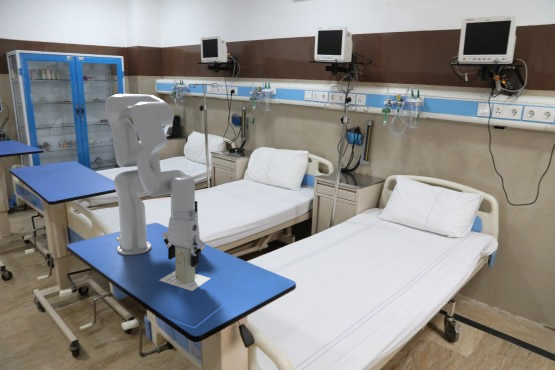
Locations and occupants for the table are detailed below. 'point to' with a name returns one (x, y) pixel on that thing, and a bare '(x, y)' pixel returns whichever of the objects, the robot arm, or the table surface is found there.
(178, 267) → the skincare box
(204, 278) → the letter
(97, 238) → the table surface
